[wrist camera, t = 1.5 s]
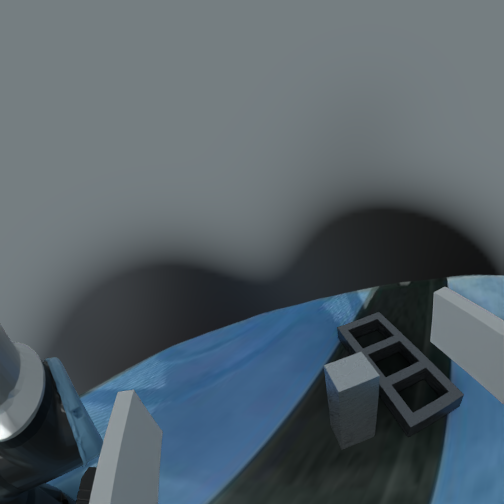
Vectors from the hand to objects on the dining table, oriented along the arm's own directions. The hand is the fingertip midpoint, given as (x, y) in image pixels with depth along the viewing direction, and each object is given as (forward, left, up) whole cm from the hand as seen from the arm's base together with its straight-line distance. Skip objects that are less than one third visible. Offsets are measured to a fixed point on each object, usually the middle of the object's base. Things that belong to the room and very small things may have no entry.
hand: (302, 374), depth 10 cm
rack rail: (+18, +21, -26) cm, 38 cm away
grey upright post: (+7, +13, -26) cm, 30 cm away
